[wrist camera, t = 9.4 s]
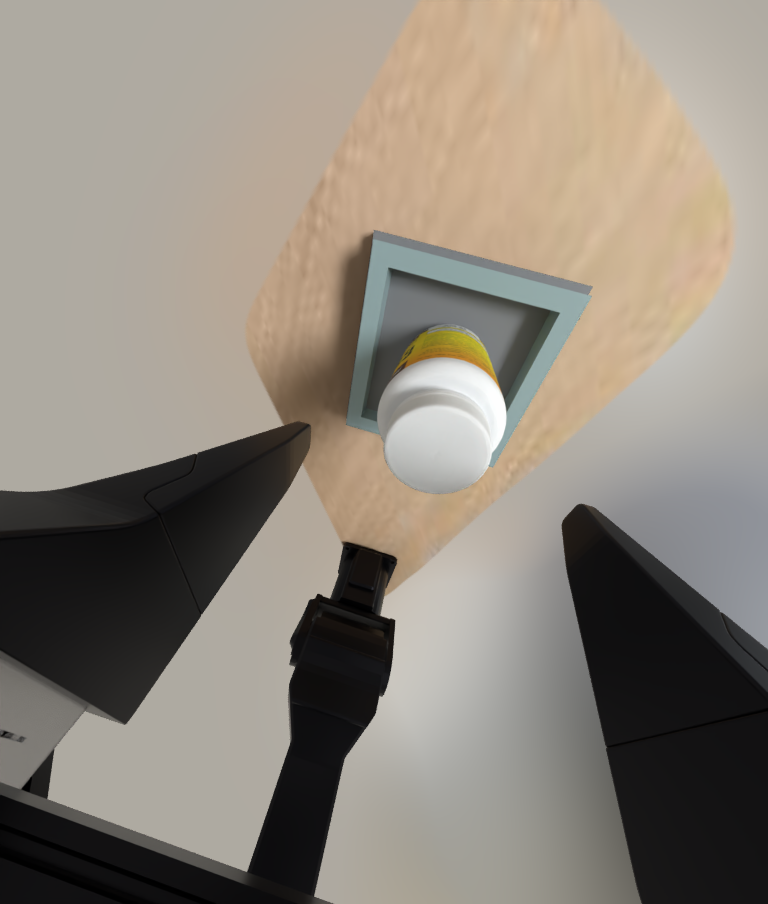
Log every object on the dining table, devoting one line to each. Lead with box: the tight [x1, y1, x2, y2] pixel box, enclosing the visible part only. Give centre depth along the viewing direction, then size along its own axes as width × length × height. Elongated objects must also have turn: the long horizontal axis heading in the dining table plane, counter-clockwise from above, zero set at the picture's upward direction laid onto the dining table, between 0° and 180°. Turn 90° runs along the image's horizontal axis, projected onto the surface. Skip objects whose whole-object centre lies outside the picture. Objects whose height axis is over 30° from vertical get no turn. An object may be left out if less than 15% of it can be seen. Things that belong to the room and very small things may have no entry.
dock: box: [346, 230, 592, 467], centre depth 18 cm, size 12×12×2 cm
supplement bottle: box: [377, 324, 507, 494], centre depth 14 cm, size 6×6×10 cm
